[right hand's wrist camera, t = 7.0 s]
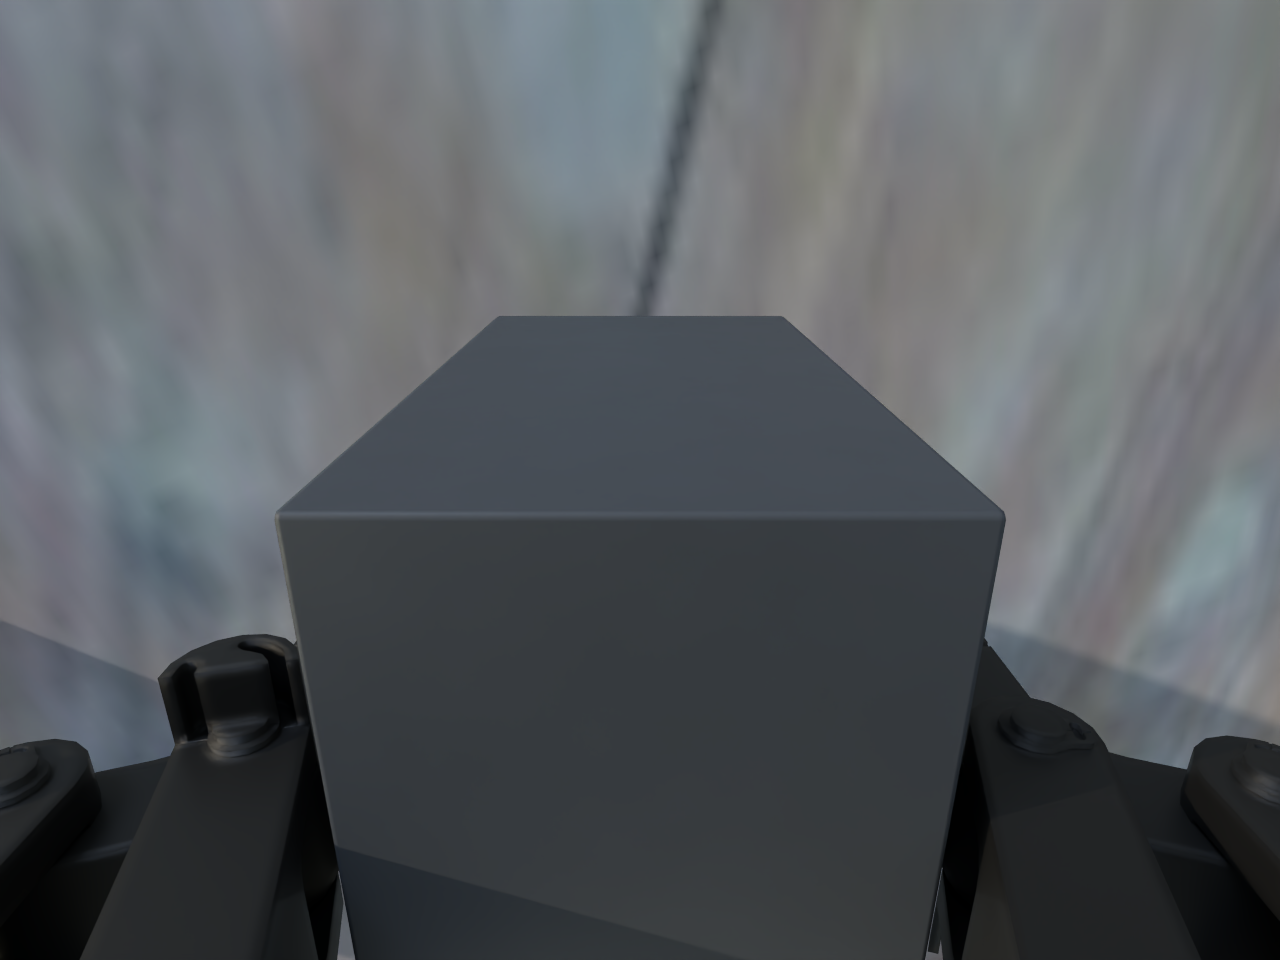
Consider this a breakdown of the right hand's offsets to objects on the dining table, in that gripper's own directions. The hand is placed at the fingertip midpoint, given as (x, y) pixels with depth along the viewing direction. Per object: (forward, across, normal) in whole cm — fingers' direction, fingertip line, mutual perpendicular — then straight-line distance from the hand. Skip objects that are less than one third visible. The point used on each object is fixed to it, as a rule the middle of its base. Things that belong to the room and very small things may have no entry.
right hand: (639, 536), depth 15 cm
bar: (+1, 0, -8) cm, 8 cm away
